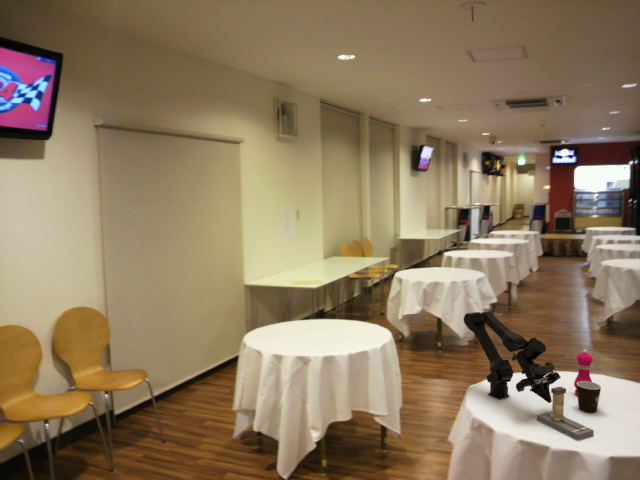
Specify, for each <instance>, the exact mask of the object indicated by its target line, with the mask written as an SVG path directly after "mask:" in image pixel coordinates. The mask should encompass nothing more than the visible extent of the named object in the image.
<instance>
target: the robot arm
mask: <svg viewBox="0 0 640 480" xmlns="http://www.w3.org/2000/svg"><path fill="white" fill-rule="evenodd" d="M463 323H464V324H465V327H466V328H467V329H468V330H469V331H471V332H472V333H474V335H475V337H476V339H477V340H478V342H479V345H480V347H481V348H482V350H483V352H484V353H485V356H486V357H487V359H488V361H489V370H490V373H489V374H488V375H486V382H487V383H489V384H490V386H489V389H490V391H489V393H487V396H490V397H492V398H495V399H497V400H503V399H506V398H508V397H510V394H509V386H508V383H510V382H512V381H511V380H512V379H513V376H514V369H513V366H512V364H511V362H510V361H509V359H507V358H506V359H503V358H502V357H501V355H500V354H499V351H498V350H497V348H496V346H495V344H494V342H493V341H492V339H491V337H490V335H489V333H488V331H487V329H486V326H487V327H488V328H489V329H491V330H492V331H493V332H494V333H495V334H496V335H497V336H498V337H499V338H500V339H501V343H502V345H503V346H504V347H505V349H506V350H507V351H508V352H510V353H513V354H512V357H511V361H512V362H514V361H516V362H517V363H518V365H519V366H520V369H521V370H522V371H521V374H522V375H524V376H525V377H526V378H522V379H521V380H519V381H518V382H516V383H515V389H516V390H517V392H518V393H520V392H524V391H525V388H527V387H530V389H529V392H532V393H534V394H535V395H537V396H538V397H540V398H541V399H543V400H544V401H545V402H547V403H548V404H550V403H552V402H553V399H552V395H551V390H550V385H552V384H554V383H556V382H557V381H559V379H561V378H562V376H560V374H559V372H557V371H554V370H555V369H556V368H555V365H554V363H553V362H552V361H548V362H545V363H544V365H541V364H540V363H537V362H535V360H537V359H538V358H539V357H540V356H542V355H543V354H545V352H546V351H547V346H546V344H545V343H543V342H542V341H541V340H539V339H537V337H531V338H529V340H526V339H525V338H524V337H523V336H522V335H520V334H518V333H517V332H515V331H512V330H510V329H509V328H508V327H507V326H506V325H505V324H503V322H501V321H500V320H499V319H498V318H497V317H496V316H495V315H494V313H493V312H492V311H482V312H480V311H475V312H469V313H465V315H464V316H463ZM514 352H516V353H514Z"/></svg>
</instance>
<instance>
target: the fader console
mask: <svg viewBox="0 0 640 480" xmlns="http://www.w3.org/2000/svg"><path fill="white" fill-rule="evenodd" d="M551 415H552V410H550V411H547V412H543V413H540V414H539V413H538V414H537V415H536V421H538V422H539V423H542V424H544V425H546V426H547V427H550V428H552V429H554V430H556V431H558V432H560V433H562V434H564V435H566V436H568V437H570V438H572V439H574V440H576V441H580V440H584V439H587V438H590V437H594V435H595V434H594V433H595V432H594V431H595V430H594V429H592V428H590V427H588V426H586V425H583V424H581V423H579V422H576V421H574V420H573V419H570V418H568V417H566V416H565V419H563V420H559V421H556V420H554V419H552V418H550V416H551Z"/></svg>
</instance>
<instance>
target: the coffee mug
mask: <svg viewBox="0 0 640 480" xmlns="http://www.w3.org/2000/svg"><path fill="white" fill-rule="evenodd" d="M601 388H602V386H601V385H600V384H598V383H596V382H593V381H592V382H588V381H580V382H577V394H578V396H577V404H578V410H579V411H581V412H583V413H586V414H587V413H589V414H594V413H597V412H598V411H597V410H598V407H599V401H600V394H601V391H602V389H601Z"/></svg>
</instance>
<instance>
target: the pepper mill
mask: <svg viewBox="0 0 640 480" xmlns="http://www.w3.org/2000/svg"><path fill="white" fill-rule="evenodd" d="M576 361H577V362H578V363H577V368H578V372H577V376H576V378H575V379H574V383H573V386H574V388H575V390H574V394H575V396H577V397H578V394H577V382H580V381H588V382H593V381H592V378H591V373H590V370H591V369H592V365H591V364H592V363H593V362H594V360H593V356H592V354H590V353H588V349H583V350H582V352H580V353H577V355H576Z"/></svg>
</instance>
